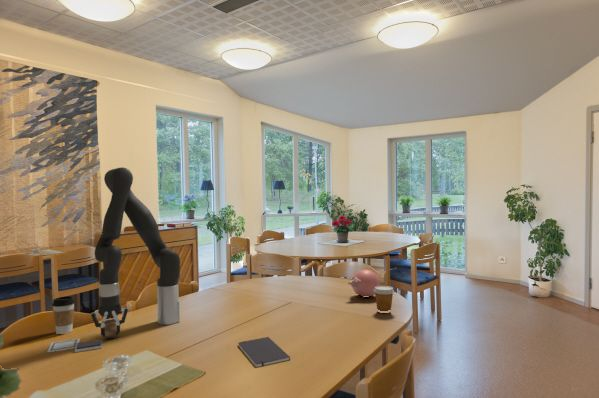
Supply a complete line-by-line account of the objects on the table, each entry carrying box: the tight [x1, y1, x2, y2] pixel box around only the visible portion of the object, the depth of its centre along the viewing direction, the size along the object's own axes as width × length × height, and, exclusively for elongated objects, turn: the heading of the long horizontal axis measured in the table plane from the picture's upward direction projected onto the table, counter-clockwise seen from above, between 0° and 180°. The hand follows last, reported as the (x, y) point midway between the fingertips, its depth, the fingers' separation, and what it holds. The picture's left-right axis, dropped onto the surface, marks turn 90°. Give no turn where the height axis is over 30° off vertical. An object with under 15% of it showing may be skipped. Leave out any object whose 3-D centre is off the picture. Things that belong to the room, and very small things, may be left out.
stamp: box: [104, 318, 118, 340], centre depth 158 cm, size 4×4×6 cm
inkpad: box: [74, 339, 104, 353], centre depth 148 cm, size 9×6×1 cm
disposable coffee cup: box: [374, 285, 395, 311], centre depth 187 cm, size 10×10×12 cm
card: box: [46, 338, 81, 354], centre depth 150 cm, size 10×10×1 cm
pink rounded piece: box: [347, 269, 381, 297], centre depth 213 cm, size 15×20×15 cm
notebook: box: [237, 336, 291, 367], centre depth 142 cm, size 13×2×21 cm
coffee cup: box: [51, 295, 76, 335], centre depth 164 cm, size 8×8×15 cm
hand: (110, 334), depth 158 cm, fingers closed on stamp, 4 cm apart
